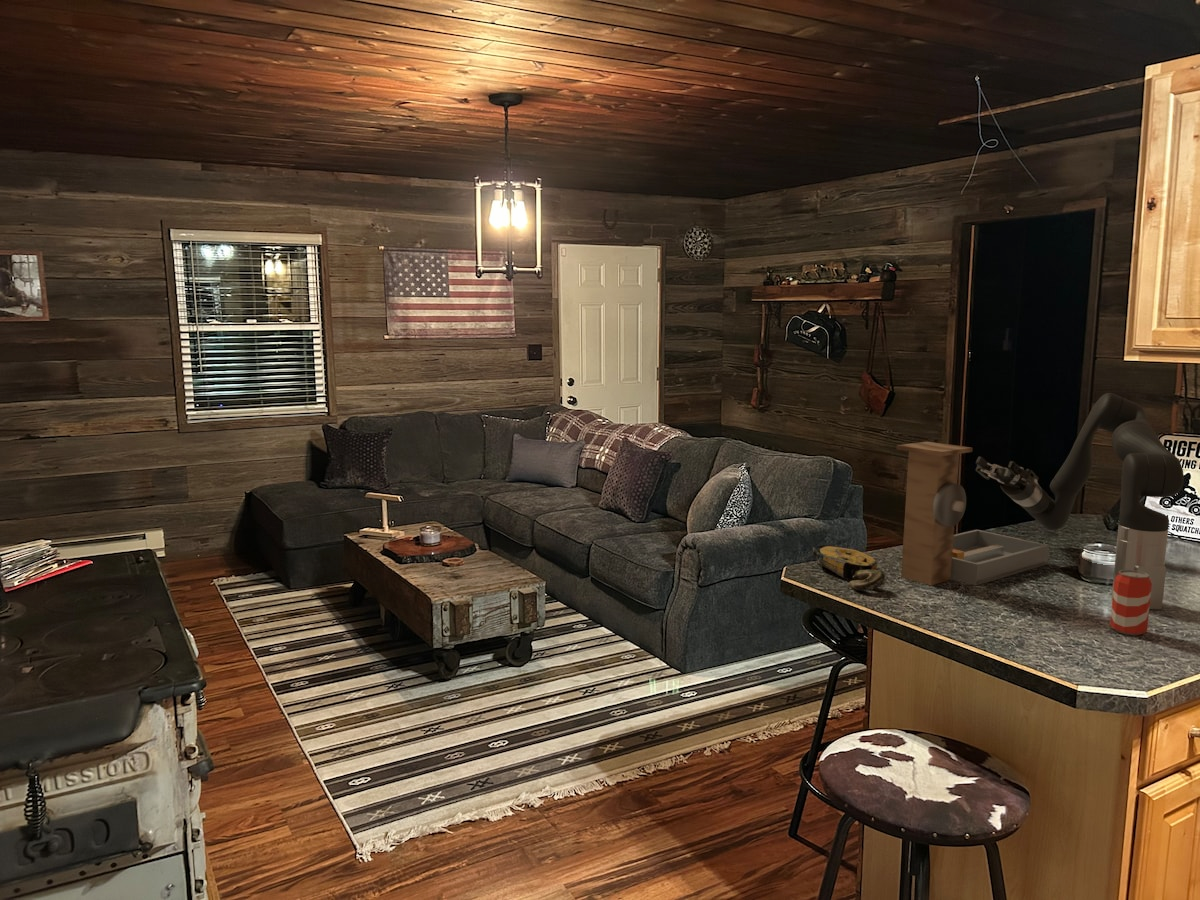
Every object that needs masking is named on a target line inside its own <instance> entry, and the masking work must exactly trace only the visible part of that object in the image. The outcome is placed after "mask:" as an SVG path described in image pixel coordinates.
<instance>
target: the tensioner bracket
mask: <svg viewBox="0 0 1200 900" xmlns="http://www.w3.org/2000/svg"><path fill="white" fill-rule="evenodd" d="M898 450H899V451H905V452H908V459H907V461H908V462H907V474H906V475H907V477H906V493H905V495H906V496H905V507H904V508H905V509H904V510H905V511H904V525H903V541H902V557H901V558H902V559H901V573H900V578H902V577H903V579H906V580H910V581H914V582H917V583H920V584H924V585H926V586H927V585H928V586H932V585H933V586H934V585H936V584H940V583H944V582H948V581H951V580H952V579H951V566H952V552H953V537H954V535H955V534H954V533H955V526H956V525H958V524H959V523H960V521H961V520H962V518H963V517H964V514H965V513H966V512H965V511H966V508H967V495H966V491H965V488H964V487H963V486H962V485H961V484H959V483H958V479H959V478H958V477H959V476H958V475H959V463H960V462H959V461H960V454H966V453H973V450H974V449H973V447H969V446H963V445H956V444H949V443H947V444H946V443H942V442H941V443H939V442H933V441H921V442H912V443H906V444H905V443H904V444H897V445H896V451H898Z"/></svg>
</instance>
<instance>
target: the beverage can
mask: <svg viewBox="0 0 1200 900" xmlns="http://www.w3.org/2000/svg"><path fill="white" fill-rule="evenodd" d="M1151 588H1152V583H1151V581H1150V579H1149V575H1148V574H1147V573H1144V572H1140V571H1135V570H1120V571H1119V574H1118V575H1117V577H1116V578H1115V580H1114V590H1113V600H1112V599H1111V601H1112V602H1111V612H1110V621H1109V622H1110V623H1109V626H1110V627H1111V628H1112V629H1114V630H1115V631H1116V632H1117V633H1120V634H1123V635H1126V636H1127V635H1128V636H1141V634H1146V633H1147V631H1148V625H1149V617H1150V615H1149V614H1150V609H1149V607H1150V597H1151Z"/></svg>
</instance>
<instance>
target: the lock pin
mask: <svg viewBox="0 0 1200 900" xmlns="http://www.w3.org/2000/svg"><path fill="white" fill-rule="evenodd" d="M1004 548H1005V547H1004V546H1000V545H992V546H988V547H984V548H980V549H975V550H971V551H967V552H964V551H960V550H956V549H953V552H952V557H954V558H958V559H962V560H966V561H970V562H974V563H977V562H981V561H984V560H988V559H992V558H996V557H1000V556H1004Z"/></svg>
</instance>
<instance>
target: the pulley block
mask: <svg viewBox="0 0 1200 900" xmlns="http://www.w3.org/2000/svg"><path fill="white" fill-rule="evenodd" d="M818 549H819V550H818ZM812 556H816V558H815V559H816V563H818V564H819V565H820V566H822V567H824V568H826V569H828V570H829V571H831V572H833V573H835V574H836V575H837V576H840V577H841V578H843V579H845V580H846V581H848V585H849V586H850V587H851V588H853V589H854V590H856V591H861V592H863V591H864V592H865V591H868V590H870V591H873V590H874V588H875V587H877V586H878V585H880V584H881V583H882V582H884V580H885V575H884V573H883V572H882V571H881V570H879V569H877V567H878V561H877V560H875V558H873V557H872V556H870V555H869V554H866V553H864V552H862V551H859V550H856V549H851V548H844V547H840V546H836V545H835V546H834V545H831V544H830V545H829V544H828V545H827V544H821V545H817V546H816V548H815V547H812Z"/></svg>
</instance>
